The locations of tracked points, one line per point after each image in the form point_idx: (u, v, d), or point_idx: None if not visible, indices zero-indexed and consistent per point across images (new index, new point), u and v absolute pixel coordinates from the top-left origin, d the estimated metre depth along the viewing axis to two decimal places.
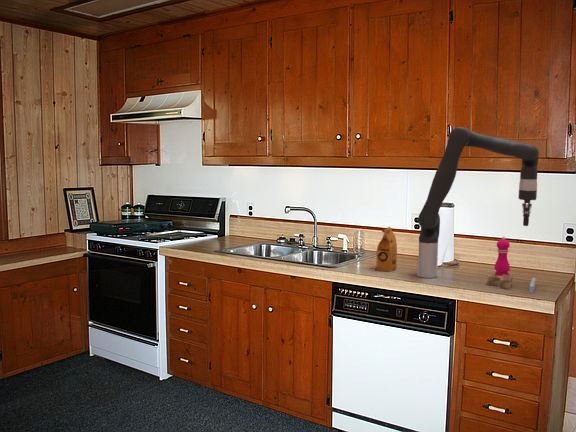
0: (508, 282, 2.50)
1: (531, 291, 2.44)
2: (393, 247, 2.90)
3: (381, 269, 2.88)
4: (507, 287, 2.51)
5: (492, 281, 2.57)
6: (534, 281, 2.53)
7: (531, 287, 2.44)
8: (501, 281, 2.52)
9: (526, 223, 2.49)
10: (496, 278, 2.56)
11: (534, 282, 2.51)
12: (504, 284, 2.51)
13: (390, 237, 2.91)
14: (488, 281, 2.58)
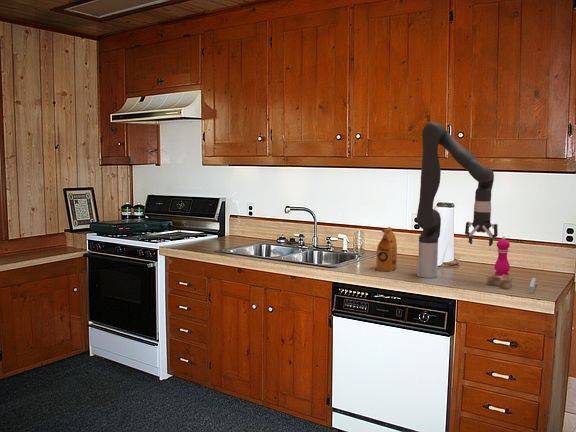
0: (508, 282, 2.50)
1: (531, 291, 2.44)
2: (393, 247, 2.90)
3: (381, 269, 2.88)
4: (507, 287, 2.51)
5: (492, 281, 2.57)
6: (534, 281, 2.53)
7: (531, 287, 2.44)
8: (501, 281, 2.52)
9: (492, 243, 2.58)
10: (496, 278, 2.56)
11: (534, 282, 2.51)
12: (504, 284, 2.51)
13: (390, 237, 2.91)
14: (488, 281, 2.58)
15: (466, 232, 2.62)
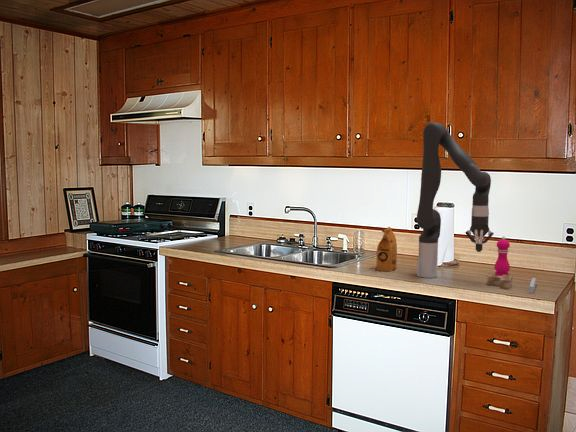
0: (508, 282, 2.50)
1: (531, 291, 2.44)
2: (393, 247, 2.90)
3: (381, 269, 2.88)
4: (507, 287, 2.51)
5: (492, 281, 2.57)
6: (534, 281, 2.53)
7: (531, 287, 2.44)
8: (501, 281, 2.52)
9: (481, 248, 2.60)
10: (496, 278, 2.56)
11: (534, 282, 2.51)
12: (504, 284, 2.51)
13: (390, 237, 2.91)
14: (488, 281, 2.58)
15: (473, 240, 2.60)
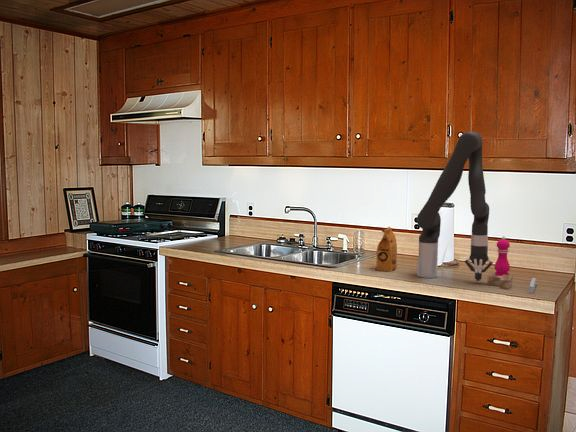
0: (508, 282, 2.50)
1: (531, 291, 2.44)
2: (393, 247, 2.90)
3: (381, 269, 2.88)
4: (507, 287, 2.51)
5: (492, 281, 2.57)
6: (534, 281, 2.53)
7: (531, 287, 2.44)
8: (501, 281, 2.52)
9: (480, 277, 2.62)
10: (496, 278, 2.56)
11: (534, 282, 2.51)
12: (504, 284, 2.51)
13: (390, 237, 2.91)
14: (488, 281, 2.58)
15: (472, 269, 2.62)
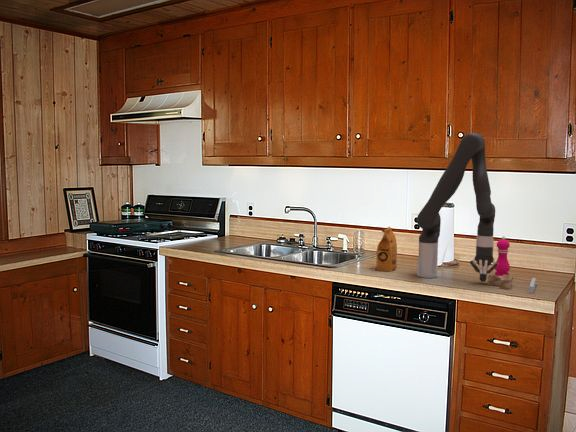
0: (508, 282, 2.50)
1: (531, 291, 2.44)
2: (393, 247, 2.90)
3: (381, 269, 2.88)
4: (507, 287, 2.51)
5: (493, 281, 2.57)
6: (534, 281, 2.53)
7: (531, 287, 2.44)
8: (501, 281, 2.52)
9: (485, 278, 2.61)
10: (496, 278, 2.56)
11: (534, 282, 2.51)
12: (504, 284, 2.51)
13: (390, 237, 2.91)
14: (488, 281, 2.58)
15: (477, 269, 2.61)
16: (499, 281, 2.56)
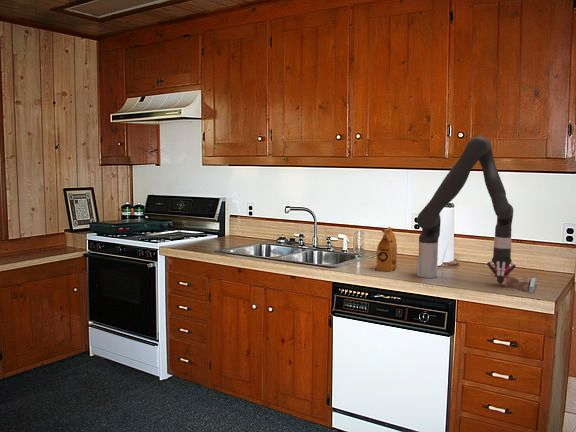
0: (527, 284, 2.47)
1: (531, 291, 2.44)
2: (393, 247, 2.90)
3: (381, 269, 2.88)
4: (526, 289, 2.47)
5: (510, 283, 2.54)
6: (534, 281, 2.53)
7: (531, 287, 2.44)
8: (520, 283, 2.48)
9: None
10: (514, 280, 2.53)
11: (534, 282, 2.51)
12: (523, 286, 2.48)
13: (390, 237, 2.91)
14: (506, 283, 2.55)
15: (494, 271, 2.57)
16: (517, 283, 2.53)
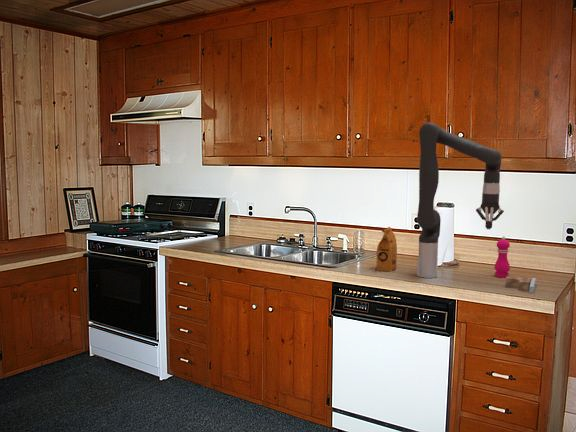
0: (527, 284, 2.47)
1: (531, 291, 2.44)
2: (393, 247, 2.90)
3: (381, 269, 2.88)
4: (526, 289, 2.47)
5: (511, 283, 2.54)
6: (534, 281, 2.53)
7: (531, 287, 2.44)
8: (520, 283, 2.48)
9: None
10: (514, 280, 2.53)
11: (534, 282, 2.51)
12: (523, 286, 2.48)
13: (390, 237, 2.91)
14: (506, 283, 2.55)
15: (483, 217, 2.63)
16: (517, 283, 2.53)
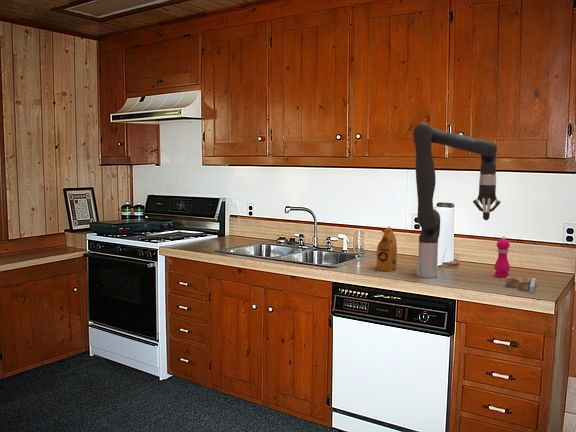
0: (527, 284, 2.47)
1: (531, 291, 2.44)
2: (393, 247, 2.90)
3: (381, 269, 2.88)
4: (526, 289, 2.47)
5: (511, 283, 2.54)
6: (534, 281, 2.53)
7: (531, 287, 2.44)
8: (520, 283, 2.48)
9: (488, 217, 2.66)
10: (514, 280, 2.53)
11: (534, 282, 2.51)
12: (523, 286, 2.48)
13: (390, 237, 2.91)
14: (506, 283, 2.55)
15: (480, 208, 2.66)
16: (517, 283, 2.53)
